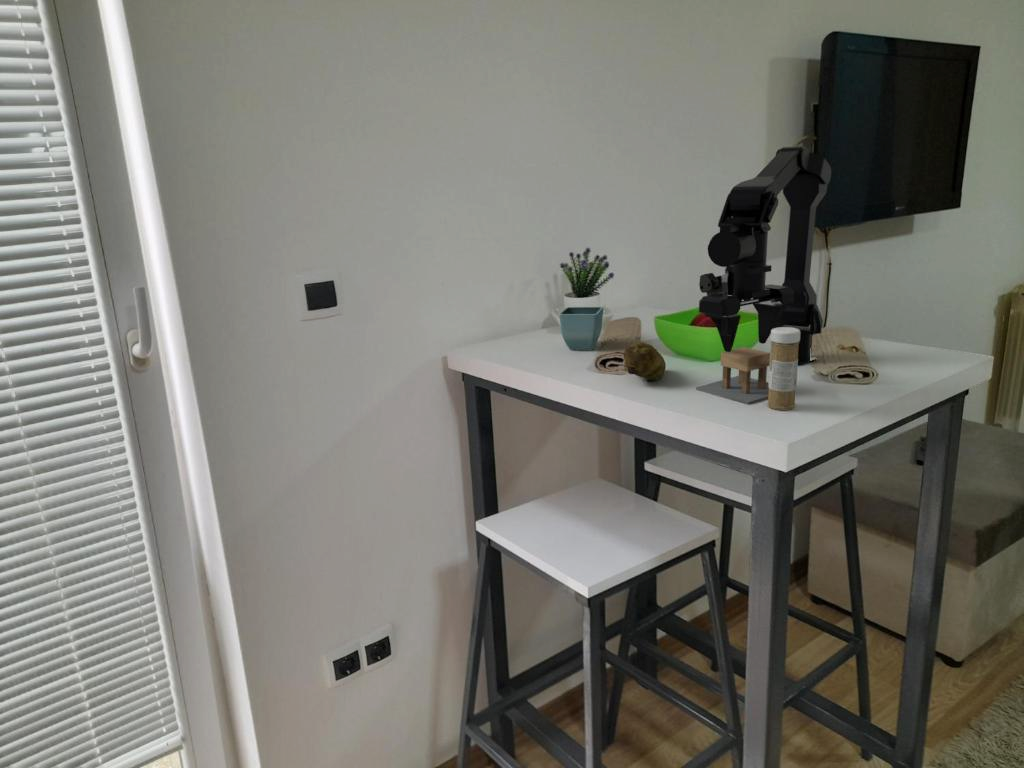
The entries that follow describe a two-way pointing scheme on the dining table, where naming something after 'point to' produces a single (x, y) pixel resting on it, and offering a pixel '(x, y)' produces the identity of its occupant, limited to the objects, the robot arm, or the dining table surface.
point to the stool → (745, 367)
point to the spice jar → (783, 368)
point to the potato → (644, 361)
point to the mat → (737, 391)
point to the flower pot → (581, 326)
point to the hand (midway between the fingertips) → (745, 347)
